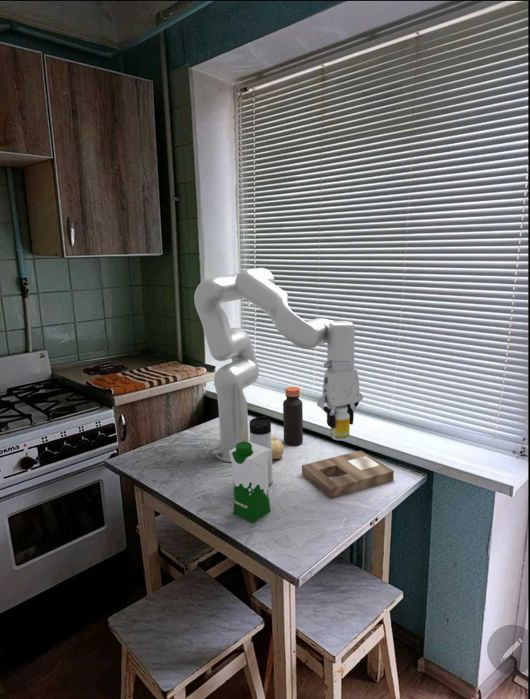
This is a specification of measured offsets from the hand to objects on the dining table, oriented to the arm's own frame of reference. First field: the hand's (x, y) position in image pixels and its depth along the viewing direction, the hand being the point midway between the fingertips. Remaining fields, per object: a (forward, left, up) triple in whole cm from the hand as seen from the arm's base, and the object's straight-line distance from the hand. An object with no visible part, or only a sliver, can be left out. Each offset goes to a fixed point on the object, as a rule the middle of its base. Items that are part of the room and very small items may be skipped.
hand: (340, 424), depth 136 cm
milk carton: (-31, -4, -18) cm, 35 cm away
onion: (-12, +23, -18) cm, 31 cm away
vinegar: (0, +30, -18) cm, 35 cm away
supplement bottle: (0, 0, -4) cm, 4 cm away
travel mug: (-22, +9, -18) cm, 29 cm away
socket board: (+2, 0, -17) cm, 18 cm away
